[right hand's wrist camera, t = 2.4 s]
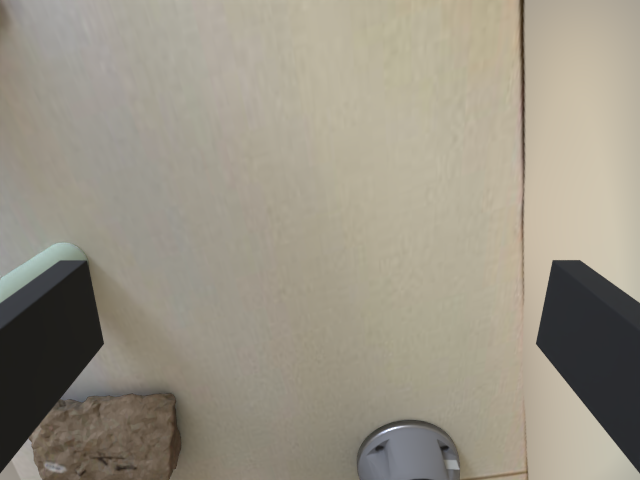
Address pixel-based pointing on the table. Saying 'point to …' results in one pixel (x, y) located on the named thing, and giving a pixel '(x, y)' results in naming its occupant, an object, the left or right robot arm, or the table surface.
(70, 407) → the stone
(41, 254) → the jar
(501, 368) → the table surface
